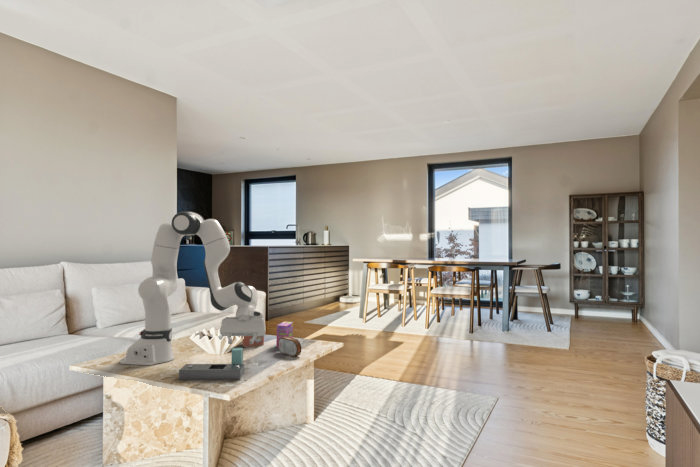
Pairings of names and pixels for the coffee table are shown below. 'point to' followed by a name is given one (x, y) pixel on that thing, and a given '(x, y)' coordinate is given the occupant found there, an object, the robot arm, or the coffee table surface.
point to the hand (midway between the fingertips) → (240, 343)
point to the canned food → (257, 342)
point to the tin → (289, 346)
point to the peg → (237, 356)
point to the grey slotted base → (211, 372)
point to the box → (284, 331)
